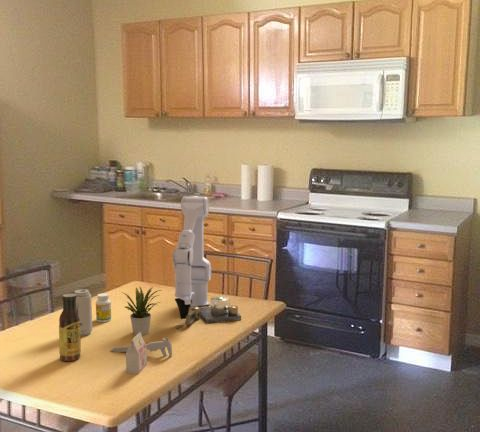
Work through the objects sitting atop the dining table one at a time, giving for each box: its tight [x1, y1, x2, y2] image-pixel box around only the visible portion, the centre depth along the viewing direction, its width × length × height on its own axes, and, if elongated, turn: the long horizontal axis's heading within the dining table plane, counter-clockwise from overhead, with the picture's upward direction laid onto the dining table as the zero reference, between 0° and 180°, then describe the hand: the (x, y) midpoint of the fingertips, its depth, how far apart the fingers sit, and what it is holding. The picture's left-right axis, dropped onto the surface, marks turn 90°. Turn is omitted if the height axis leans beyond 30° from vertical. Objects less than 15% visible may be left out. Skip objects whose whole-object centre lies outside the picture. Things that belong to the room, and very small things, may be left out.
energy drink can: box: [73, 288, 93, 337], centre depth 197 cm, size 6×6×15 cm
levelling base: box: [176, 295, 242, 330], centre depth 213 cm, size 17×25×7 cm
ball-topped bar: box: [185, 306, 201, 325], centre depth 209 cm, size 11×4×4 cm, turn 169°
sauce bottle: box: [58, 293, 82, 362], centre depth 175 cm, size 6×6×20 cm
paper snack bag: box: [125, 332, 148, 375], centre depth 168 cm, size 4×7×10 cm, turn 169°
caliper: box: [109, 336, 173, 358], centre depth 180 cm, size 20×1×6 cm, turn 77°
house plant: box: [121, 285, 162, 336], centre depth 197 cm, size 14×14×16 cm
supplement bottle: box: [95, 292, 112, 323], centre depth 211 cm, size 5×5×10 cm
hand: (183, 318), depth 208 cm, fingers closed
